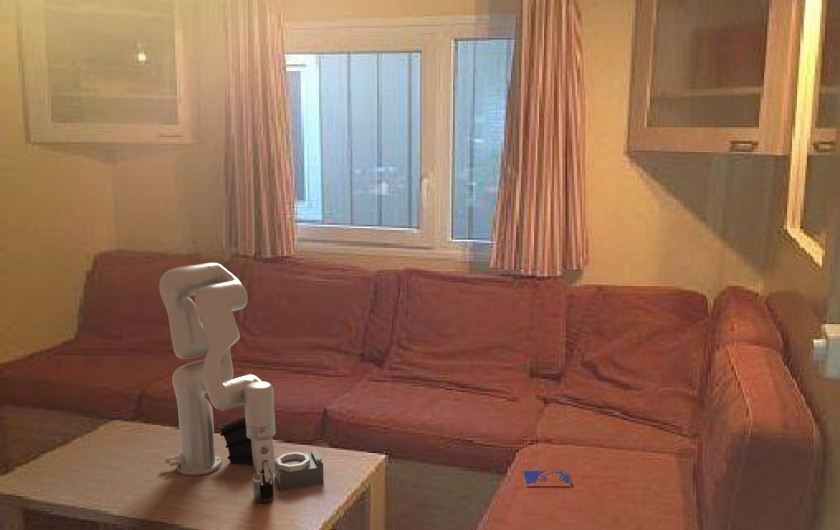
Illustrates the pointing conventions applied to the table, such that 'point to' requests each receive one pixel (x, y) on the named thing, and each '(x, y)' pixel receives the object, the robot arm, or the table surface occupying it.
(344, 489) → the table surface
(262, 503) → the lens
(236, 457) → the black device
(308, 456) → the camera body
